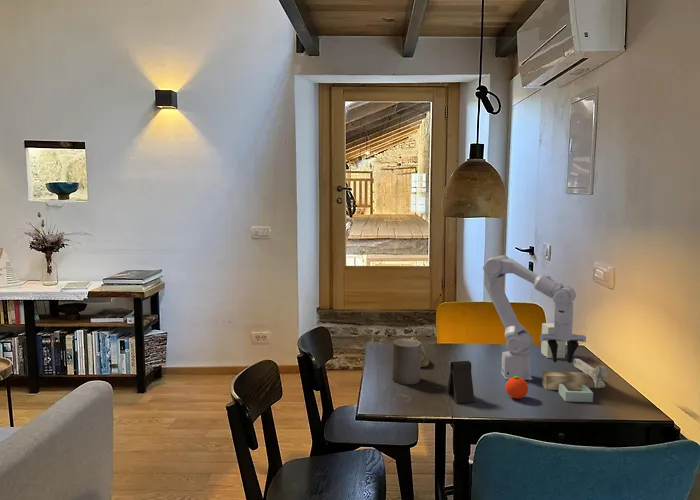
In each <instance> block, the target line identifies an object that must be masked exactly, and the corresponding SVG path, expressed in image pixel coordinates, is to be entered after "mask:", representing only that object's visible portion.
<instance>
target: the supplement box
mask: <svg viewBox="0 0 700 500" xmlns="http://www.w3.org/2000/svg"><path fill="white" fill-rule="evenodd" d="M552 333H554V322H542V323H541V334H552ZM540 341H541V340H540ZM556 342H557V344H558V348H557V359H565V358H566V347H567V341H556ZM540 344H541V346H540V347H541V348H540V353H541V354H542V355H543V356H544V357H545V356H546V357H545V358H547V359H553V357H552V352H551V349H550V346H549V344H548V342H547V341H541V342H540Z"/></svg>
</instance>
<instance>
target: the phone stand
mask: <svg viewBox="0 0 700 500" xmlns="http://www.w3.org/2000/svg"><path fill="white" fill-rule="evenodd" d="M449 365H450V368H449V370H450V371H449V375H448V381H447V388H446V395H447V396H448V397H449V398H450V399H451V400H452V401H453V402H454V403H455V404H457V405H458V404H470V403H475V401H476V400H475V393H474V383H473V377H472V363H471V361H470V360H460V361H451V362H450V364H449Z"/></svg>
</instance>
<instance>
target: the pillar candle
mask: <svg viewBox="0 0 700 500" xmlns="http://www.w3.org/2000/svg"><path fill="white" fill-rule="evenodd" d="M392 345H393V346H392V347H393V349H392V350H393V351H392V381H393V382H395V383H396V384H400V385H406V386H407V385H409V384H410V385H416V384H418V383H420V382H421V367H420V351H421V346H422V343H421V341H419V340H418V339H416V340H414V339H411V338H405V337H404V338H397V339H395V340H393V344H392Z"/></svg>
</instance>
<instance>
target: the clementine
mask: <svg viewBox="0 0 700 500" xmlns="http://www.w3.org/2000/svg"><path fill="white" fill-rule="evenodd" d="M505 390H506V393H507V394H508V395H509V397H511V398H513V399H515V400H516V399H517V400H518V399H523V398H524V397H525V396H527V394H528V391H529V385H528V382H527V380H524V379H523V378H521V377H519V376H513V377H512V378H510V379H507V382H506V383H505Z"/></svg>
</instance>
